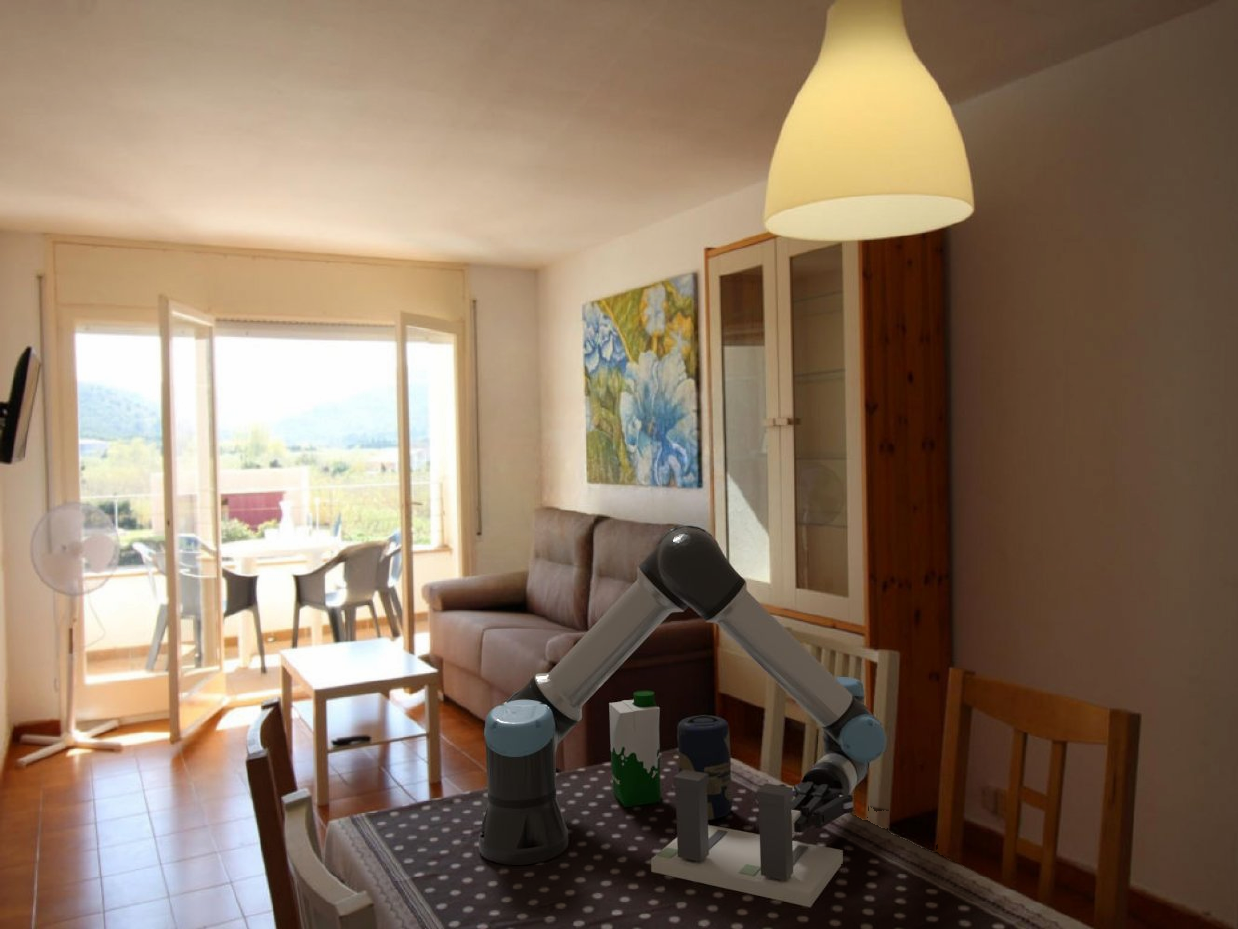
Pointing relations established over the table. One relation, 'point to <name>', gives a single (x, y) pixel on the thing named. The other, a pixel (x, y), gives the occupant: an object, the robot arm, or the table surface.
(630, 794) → the milk carton
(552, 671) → the robot arm
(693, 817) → the switch
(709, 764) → the canister
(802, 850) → the switch board
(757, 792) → the switch
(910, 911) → the table surface
